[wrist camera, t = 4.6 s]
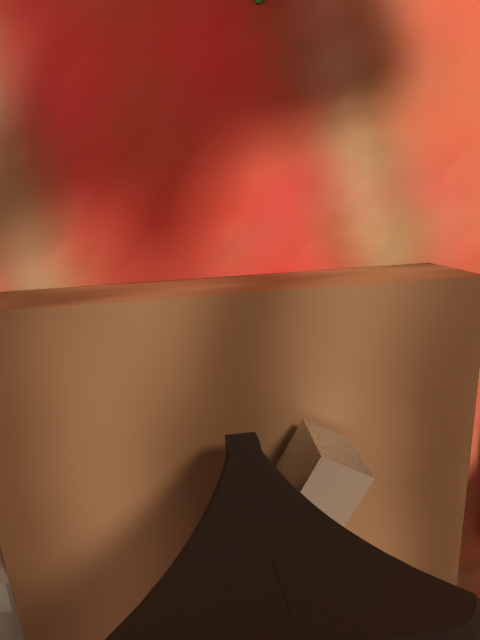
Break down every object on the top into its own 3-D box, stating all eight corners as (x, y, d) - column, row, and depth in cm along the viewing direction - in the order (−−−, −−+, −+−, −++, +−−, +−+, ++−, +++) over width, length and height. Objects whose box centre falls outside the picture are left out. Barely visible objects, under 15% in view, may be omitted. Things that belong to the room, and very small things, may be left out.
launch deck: (428, 263, 14) (489, 276, 11) (400, 692, 19) (436, 777, 16) (1, 292, 13) (-58, 315, 10) (94, 736, 18) (74, 837, 15)
